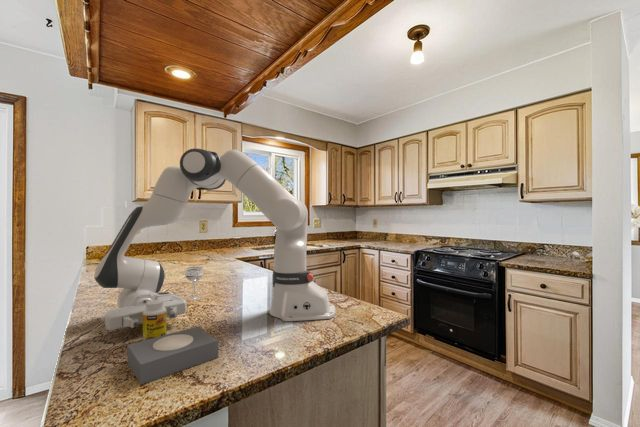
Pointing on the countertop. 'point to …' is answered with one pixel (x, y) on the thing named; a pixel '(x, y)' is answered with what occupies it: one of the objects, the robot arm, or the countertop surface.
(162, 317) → the supplement bottle
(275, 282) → the robot arm
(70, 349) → the countertop surface
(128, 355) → the block
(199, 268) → the wineglass
